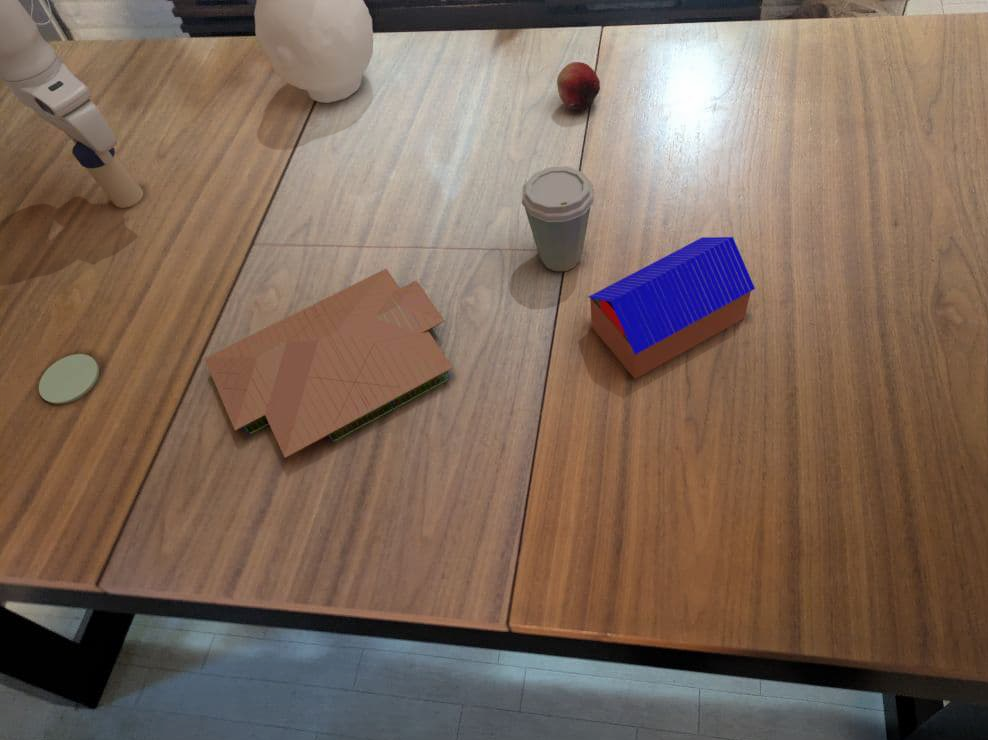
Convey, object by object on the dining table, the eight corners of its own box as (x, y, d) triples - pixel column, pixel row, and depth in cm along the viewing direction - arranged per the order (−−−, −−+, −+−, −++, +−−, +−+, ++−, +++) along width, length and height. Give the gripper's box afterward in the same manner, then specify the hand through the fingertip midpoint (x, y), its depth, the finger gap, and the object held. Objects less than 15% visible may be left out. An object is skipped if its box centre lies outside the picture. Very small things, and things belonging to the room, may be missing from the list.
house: (747, 318, 104) (761, 263, 94) (634, 381, 100) (636, 331, 90) (697, 268, 109) (705, 211, 100) (588, 326, 106) (585, 273, 96)
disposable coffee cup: (524, 240, 116) (513, 167, 103) (587, 226, 116) (584, 151, 103) (537, 288, 110) (527, 217, 98) (604, 273, 111) (602, 200, 98)
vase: (361, 125, 136) (302, -40, 110) (268, 109, 141) (191, -51, 116) (403, 67, 144) (357, -98, 119) (313, 54, 150) (251, -106, 124)
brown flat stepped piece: (473, 371, 103) (463, 337, 96) (263, 485, 96) (236, 458, 90) (407, 274, 114) (393, 238, 107) (214, 370, 108) (187, 338, 101)
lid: (79, 172, 121) (71, 161, 119) (81, 150, 124) (72, 139, 122) (115, 162, 122) (107, 152, 120) (115, 141, 125) (107, 130, 123)
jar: (113, 211, 129) (74, 162, 120) (113, 191, 132) (75, 142, 123) (143, 202, 130) (107, 153, 120) (143, 183, 133) (107, 133, 123)
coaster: (39, 411, 107) (36, 409, 106) (43, 366, 111) (40, 364, 111) (98, 394, 107) (96, 391, 107) (100, 349, 112) (97, 347, 111)
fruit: (585, 87, 135) (583, 48, 129) (608, 107, 132) (608, 68, 125) (551, 104, 134) (547, 64, 127) (573, 124, 130) (571, 85, 123)
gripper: (-10, 71, 114) (49, 143, 125) (57, 112, 106) (113, 185, 118) (24, 51, 116) (79, 123, 128) (93, 90, 108) (144, 163, 120)
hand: (96, 153), depth 122 cm, fingers closed on lid, 6 cm apart
